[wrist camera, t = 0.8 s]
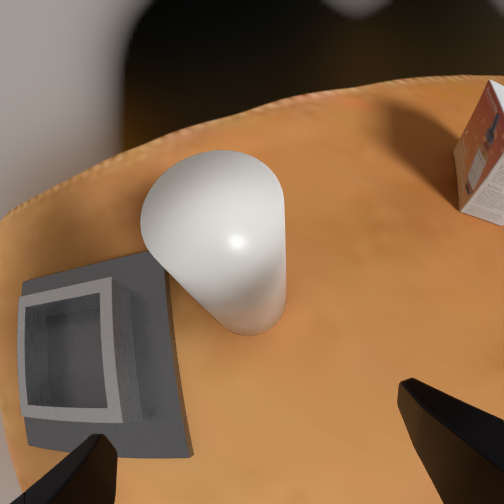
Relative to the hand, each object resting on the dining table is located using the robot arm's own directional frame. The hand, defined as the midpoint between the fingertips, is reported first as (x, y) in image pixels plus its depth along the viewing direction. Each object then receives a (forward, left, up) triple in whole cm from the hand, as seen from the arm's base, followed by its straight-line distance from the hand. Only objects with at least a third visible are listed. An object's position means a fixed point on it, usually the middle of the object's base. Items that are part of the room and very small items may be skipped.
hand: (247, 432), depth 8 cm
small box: (+25, -10, -13) cm, 31 cm away
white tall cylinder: (+6, +5, -13) cm, 15 cm away
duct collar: (-5, +14, -13) cm, 20 cm away
